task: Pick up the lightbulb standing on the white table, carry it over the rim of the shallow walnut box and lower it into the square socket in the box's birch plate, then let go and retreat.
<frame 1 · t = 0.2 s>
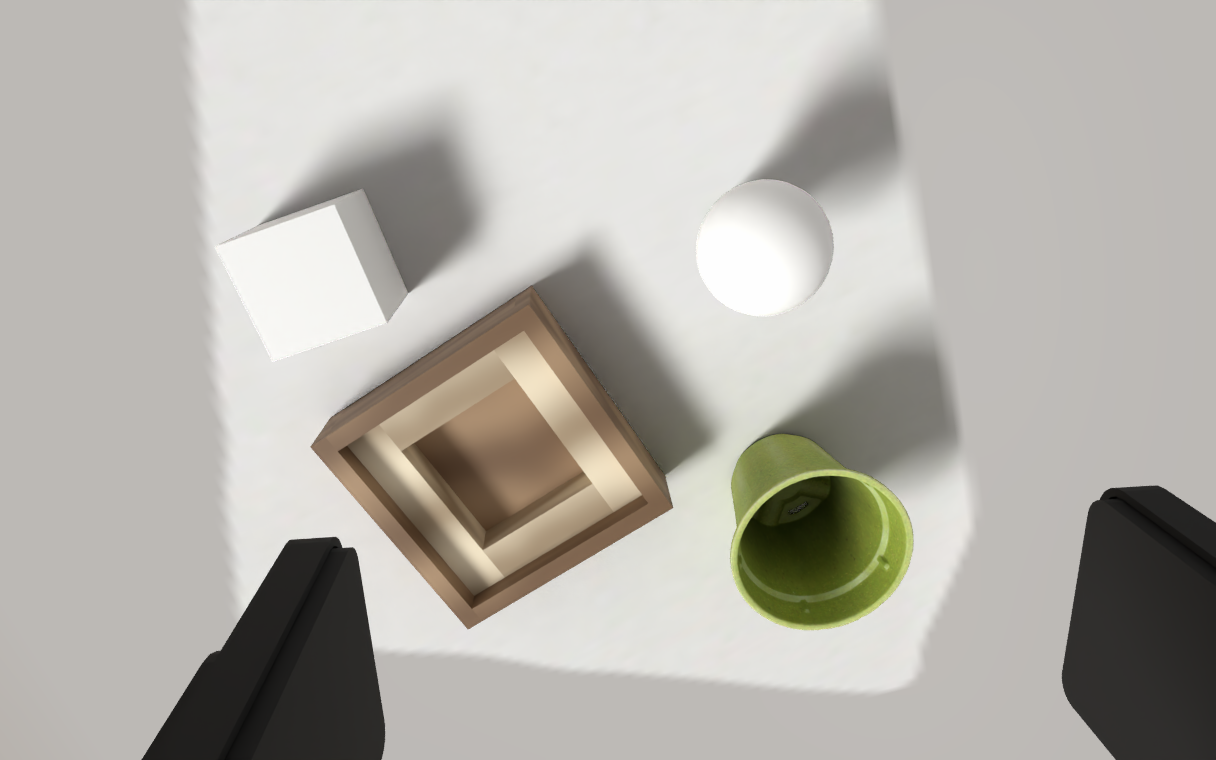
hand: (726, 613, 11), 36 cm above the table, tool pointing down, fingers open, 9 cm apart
lightbulb: (730, 219, 46), on the table
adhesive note: (335, 259, 45), on the table
socket box: (501, 447, 49), on the table
plant pot: (780, 475, 51), on the table
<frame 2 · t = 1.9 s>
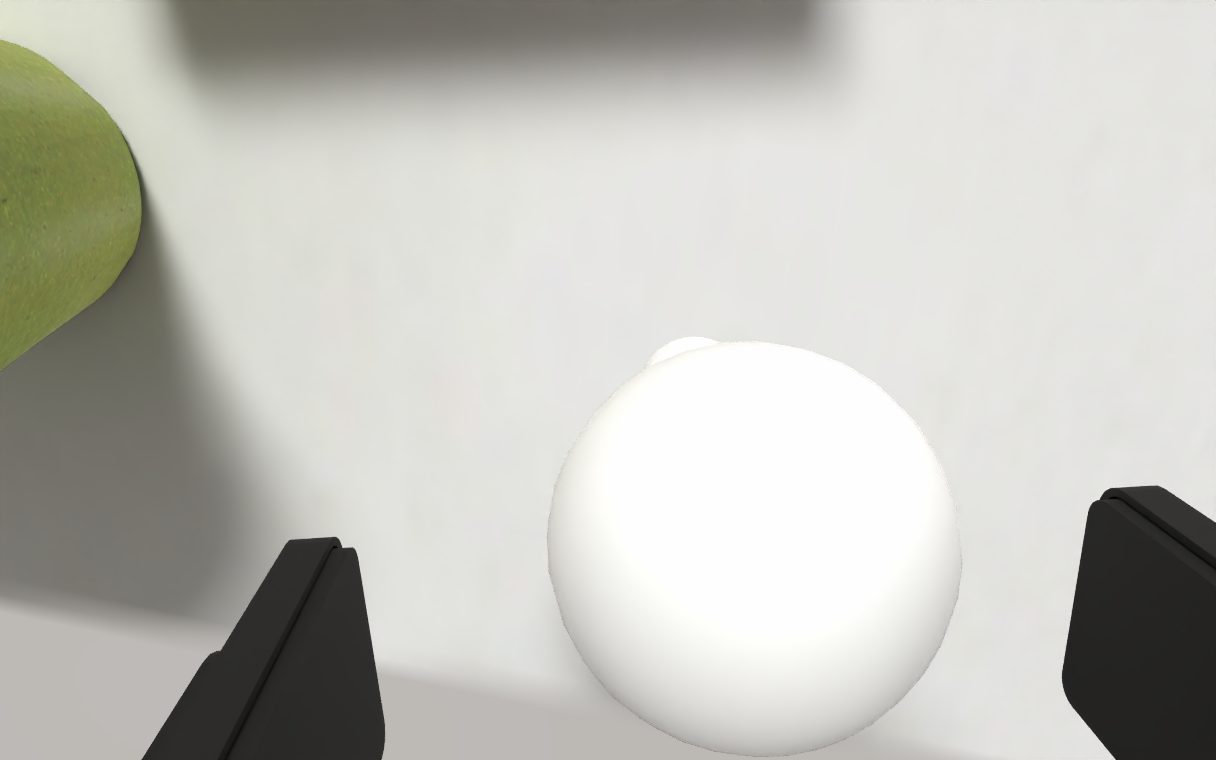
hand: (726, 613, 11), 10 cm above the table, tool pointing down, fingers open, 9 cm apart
lightbulb: (687, 374, 21), on the table
plant pot: (13, 186, 19), on the table
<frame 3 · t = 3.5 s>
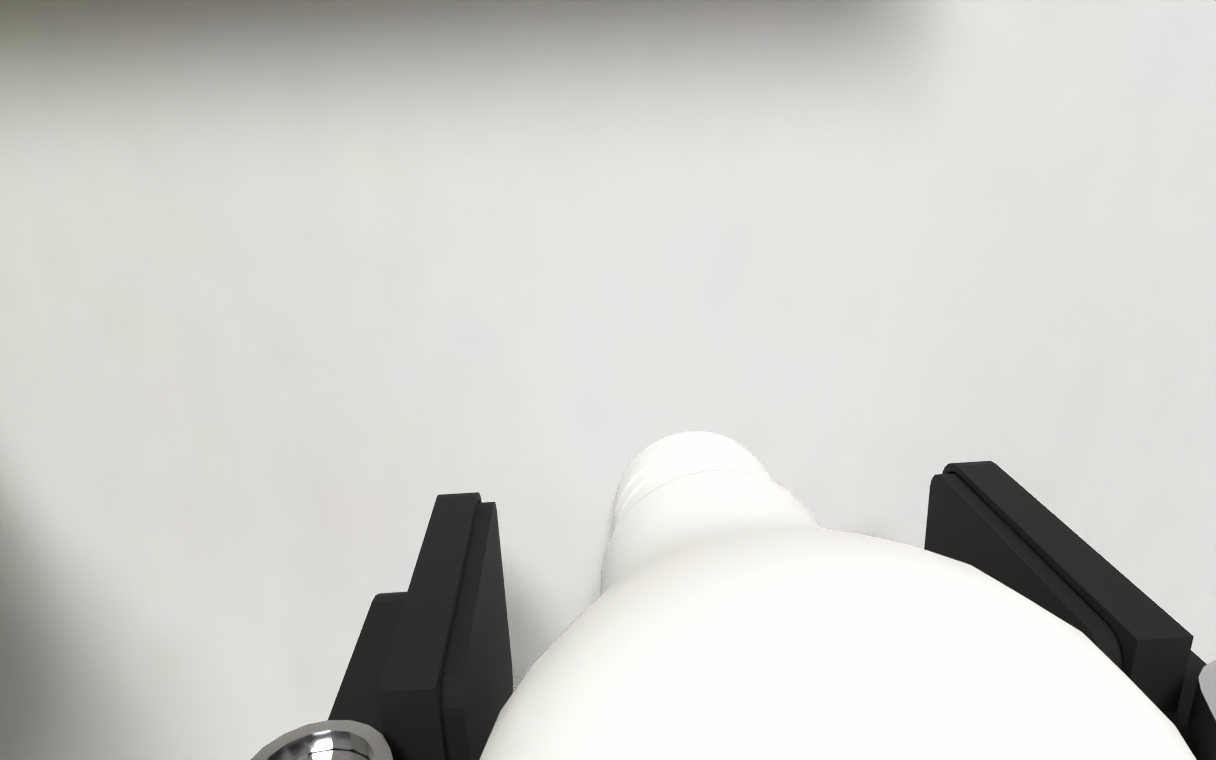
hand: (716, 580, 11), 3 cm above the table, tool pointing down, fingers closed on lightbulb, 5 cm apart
lightbulb: (683, 475, 14), on the table, touching gripper
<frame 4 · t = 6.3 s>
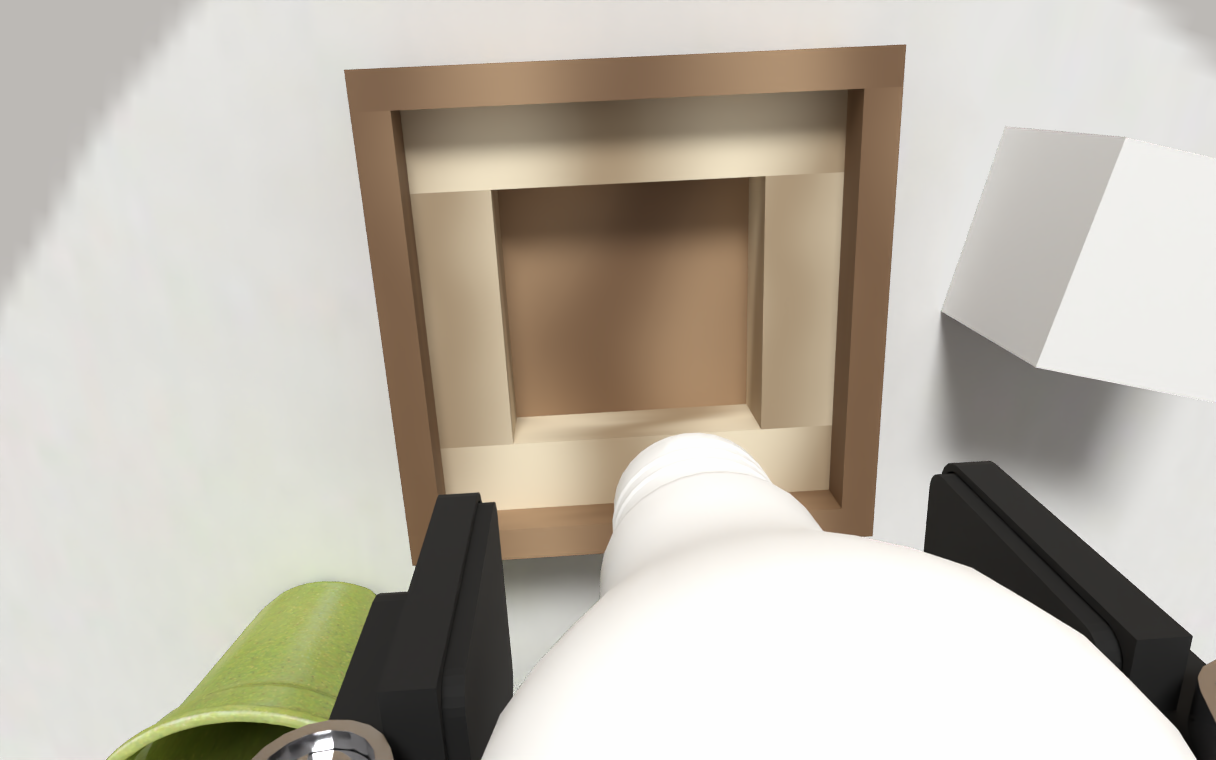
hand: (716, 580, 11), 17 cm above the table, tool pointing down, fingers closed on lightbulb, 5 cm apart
lightbulb: (682, 477, 14), point 13 cm above the table, touching gripper
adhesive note: (1052, 239, 27), on the table
socket box: (626, 294, 27), on the table
plant pot: (338, 647, 31), on the table
when the fingers open (5 cm above the table, at t = 9.0 s): lightbulb drops 2 cm, resting on socket box.
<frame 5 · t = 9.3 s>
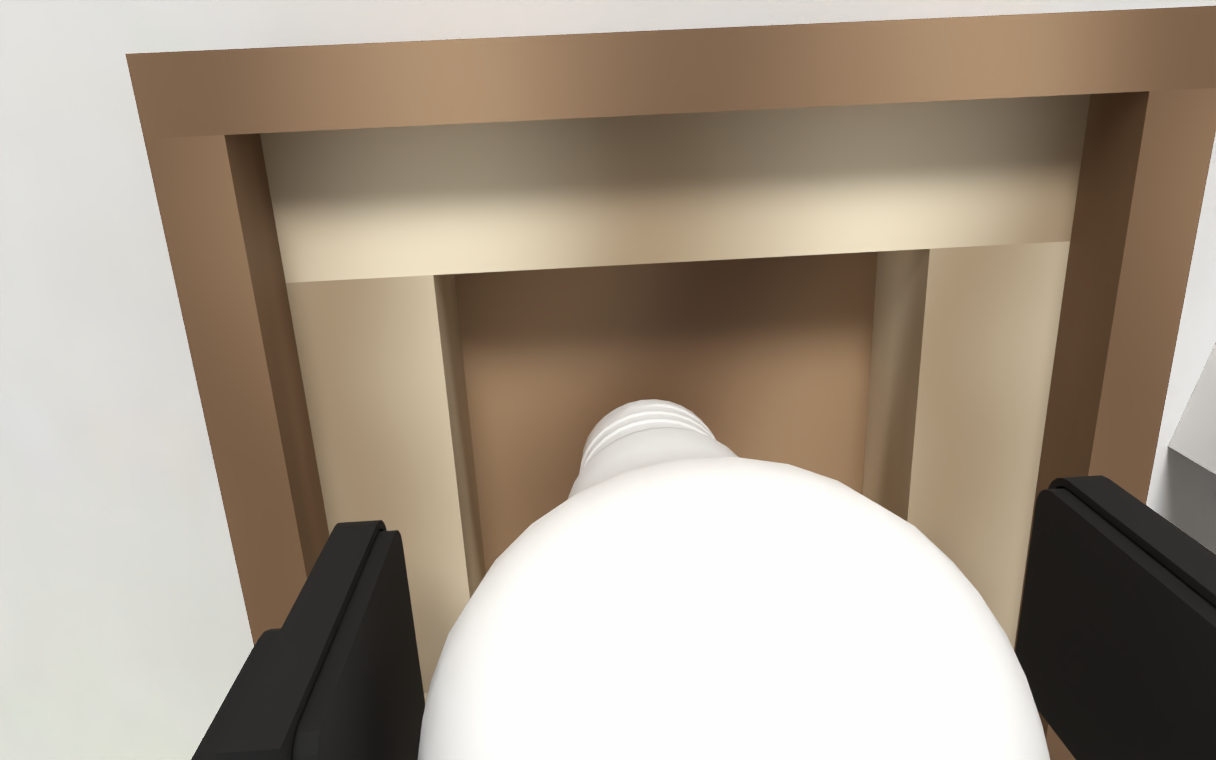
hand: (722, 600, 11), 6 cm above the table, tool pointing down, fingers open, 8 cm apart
lightbulb: (644, 441, 16), resting on socket box
socket box: (668, 425, 17), on the table
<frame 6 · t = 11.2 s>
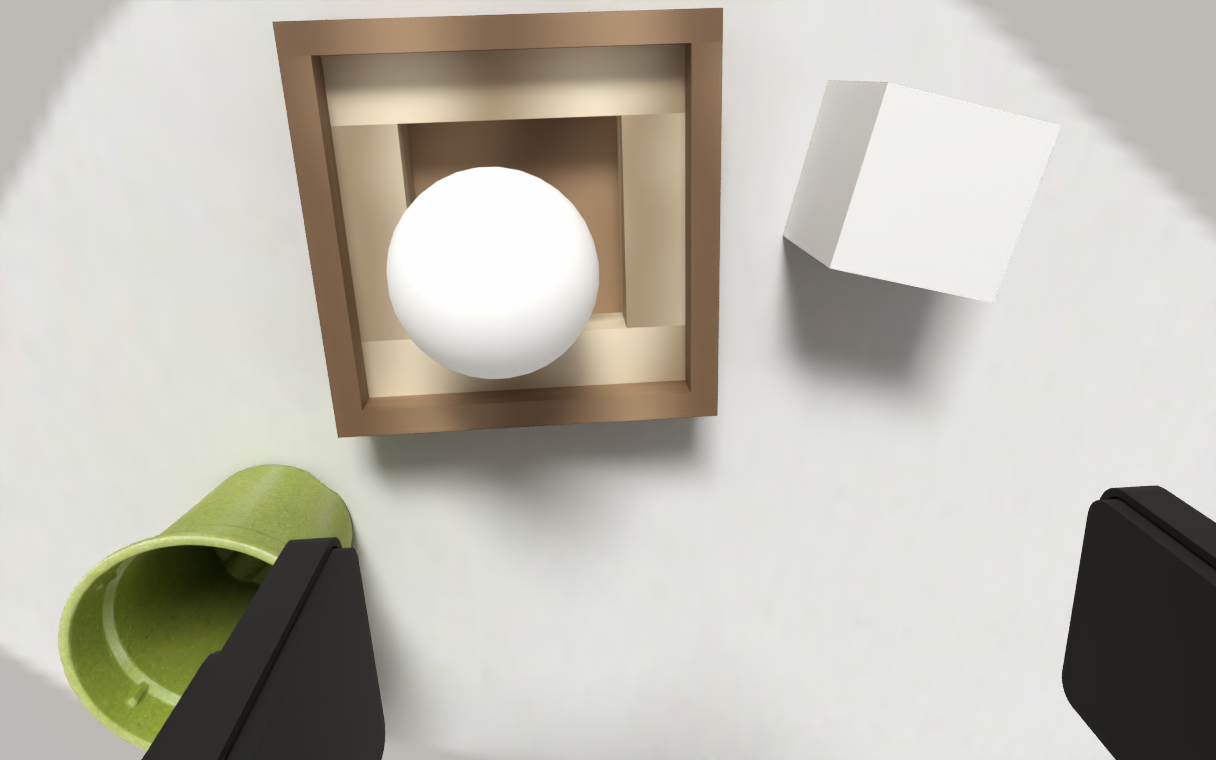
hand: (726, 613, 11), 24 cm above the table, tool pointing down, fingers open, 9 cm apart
lightbulb: (506, 225, 32), resting on socket box
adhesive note: (873, 176, 33), on the table
socket box: (519, 218, 32), on the table
plant pot: (283, 524, 36), on the table
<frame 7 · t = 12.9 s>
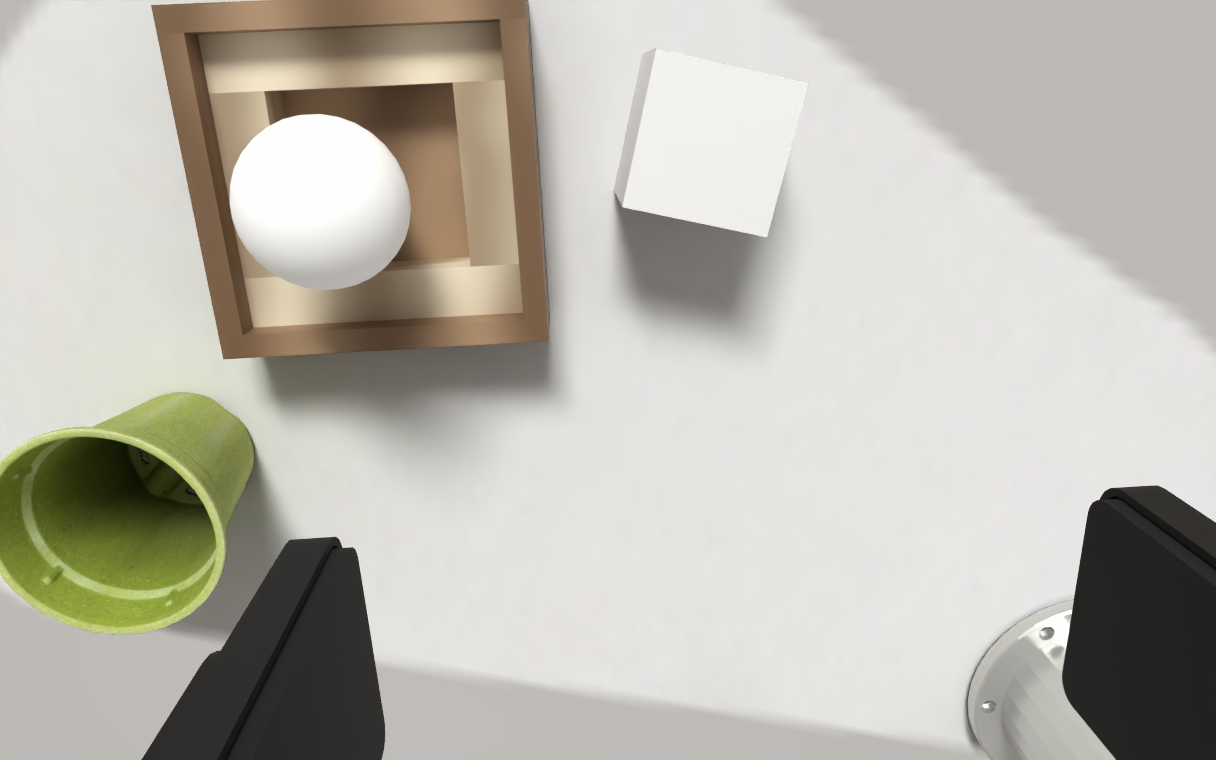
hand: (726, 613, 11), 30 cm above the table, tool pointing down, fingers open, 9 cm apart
lightbulb: (371, 181, 38), resting on socket box
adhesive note: (691, 137, 38), on the table
socket box: (384, 175, 38), on the table
plant pot: (194, 448, 42), on the table
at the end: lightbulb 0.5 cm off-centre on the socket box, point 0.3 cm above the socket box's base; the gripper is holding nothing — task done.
